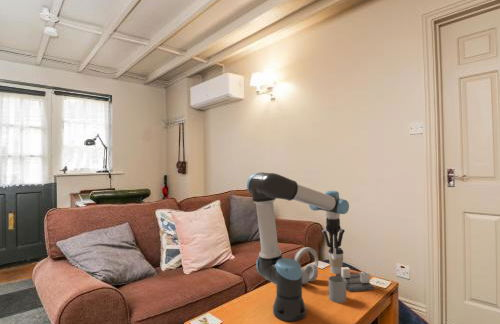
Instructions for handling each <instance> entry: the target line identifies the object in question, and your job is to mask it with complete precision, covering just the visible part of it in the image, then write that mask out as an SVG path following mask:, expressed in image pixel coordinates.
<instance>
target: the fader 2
mask: <svg viewBox="0 0 500 324" xmlns="http://www.w3.org/2000/svg"><path fill="white" fill-rule="evenodd" d="M359 274H360V281H361V282H362V283H371V282H370V281H371V280H370V279H371V278H370V276H371V275H370V273H369V272H368V271H359Z"/></svg>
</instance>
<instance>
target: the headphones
mask: <svg viewBox="0 0 500 324" xmlns="http://www.w3.org/2000/svg"><path fill="white" fill-rule="evenodd" d="M307 252H309V253H311V255H312V256H313V257H314V264H313V263H308V264H306V265H305V266H304V268H303V266H301V270H302V285H306V284H307V283H308V282H314V281H315V280H316V279H317V278H318V273H319V269H318V266H319V257H318V253H317V251H316V250H315V249H314V248H312V247H309V246H307V247H302V248H300V249H299V250H298V251H297V252H296V253H295V256H294V258H293V259H294V260H296V261H297V262H300V259H301V257H302V256H303V255H304V254H305V253H307Z"/></svg>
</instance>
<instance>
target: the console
mask: <svg viewBox="0 0 500 324" xmlns="http://www.w3.org/2000/svg"><path fill="white" fill-rule="evenodd" d="M335 276H341V274H335ZM341 277H342V276H341ZM345 279H346V291H348V292H361V291H362V292H363V291H364V292H365V291H374V290H375V286H374V285H373V284H372V283H371V282H370V283H362V282H361V281H360V272H358V273H356V272H355V273H350V278H345Z"/></svg>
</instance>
